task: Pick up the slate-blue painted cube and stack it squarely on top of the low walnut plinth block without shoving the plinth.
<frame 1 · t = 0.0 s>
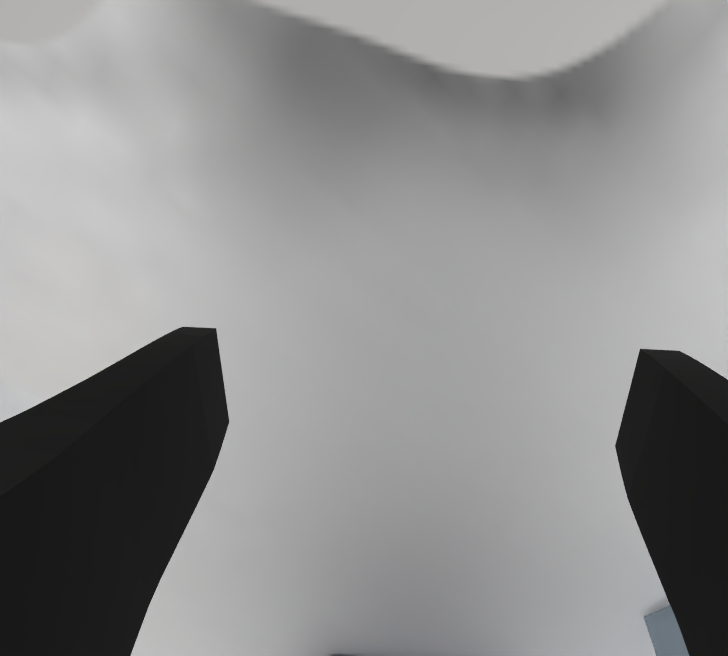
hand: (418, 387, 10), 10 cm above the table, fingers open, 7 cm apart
cube: (715, 621, 27), on the table
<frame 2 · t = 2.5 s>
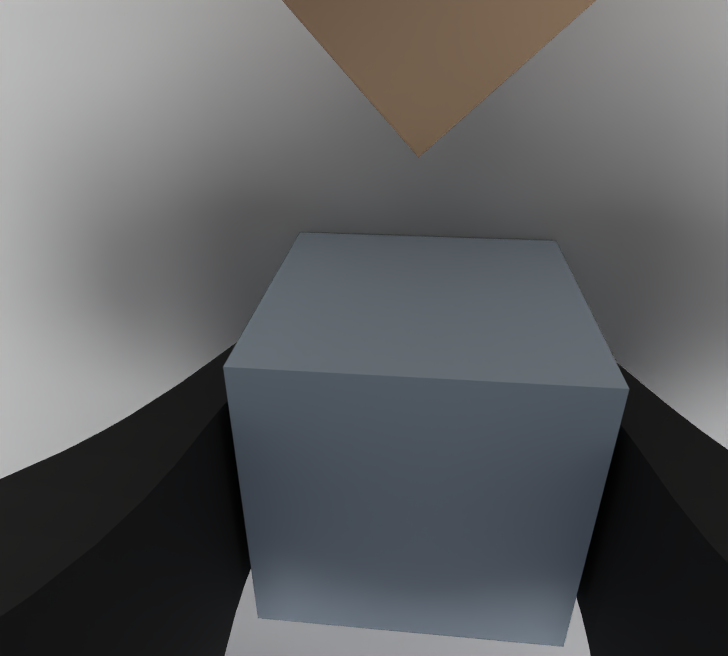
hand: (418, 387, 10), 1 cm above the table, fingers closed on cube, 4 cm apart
cube: (420, 346, 12), on the table, touching gripper
when the fingers open (5 cm above the table, at t = 5.1 s): cube stays where it is, resting on plinth.
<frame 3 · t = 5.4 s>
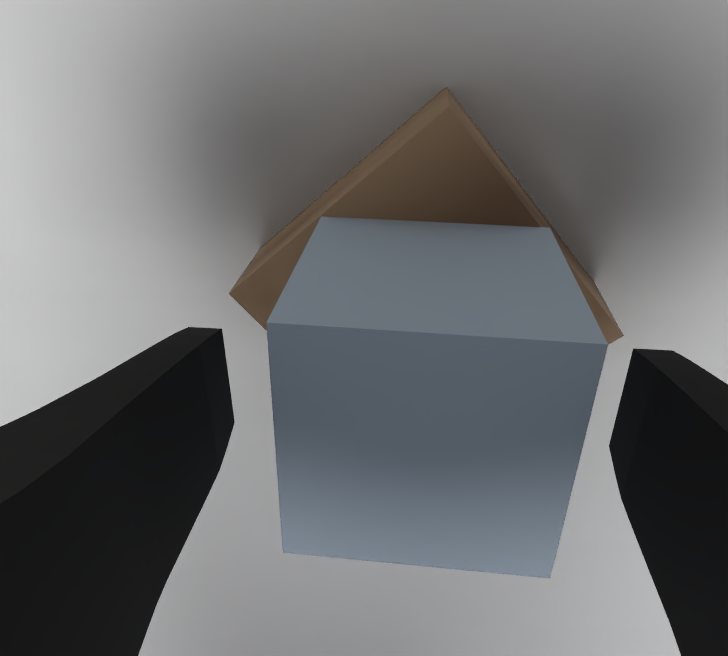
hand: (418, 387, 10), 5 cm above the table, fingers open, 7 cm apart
cube: (426, 321, 13), point 3 cm above the table, touching plinth
plinth: (424, 260, 15), on the table, touching cube
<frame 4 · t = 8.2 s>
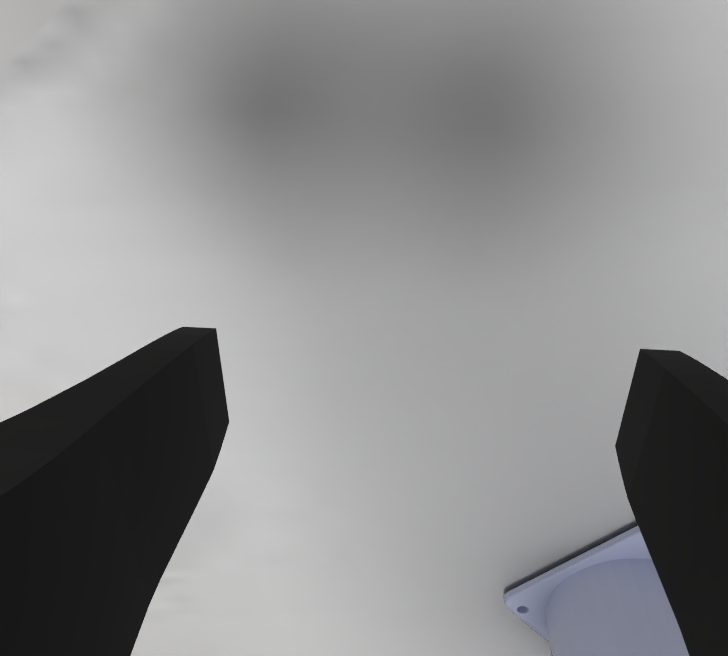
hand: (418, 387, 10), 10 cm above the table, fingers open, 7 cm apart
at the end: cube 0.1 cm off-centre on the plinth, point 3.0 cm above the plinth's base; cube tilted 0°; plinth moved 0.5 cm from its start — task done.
